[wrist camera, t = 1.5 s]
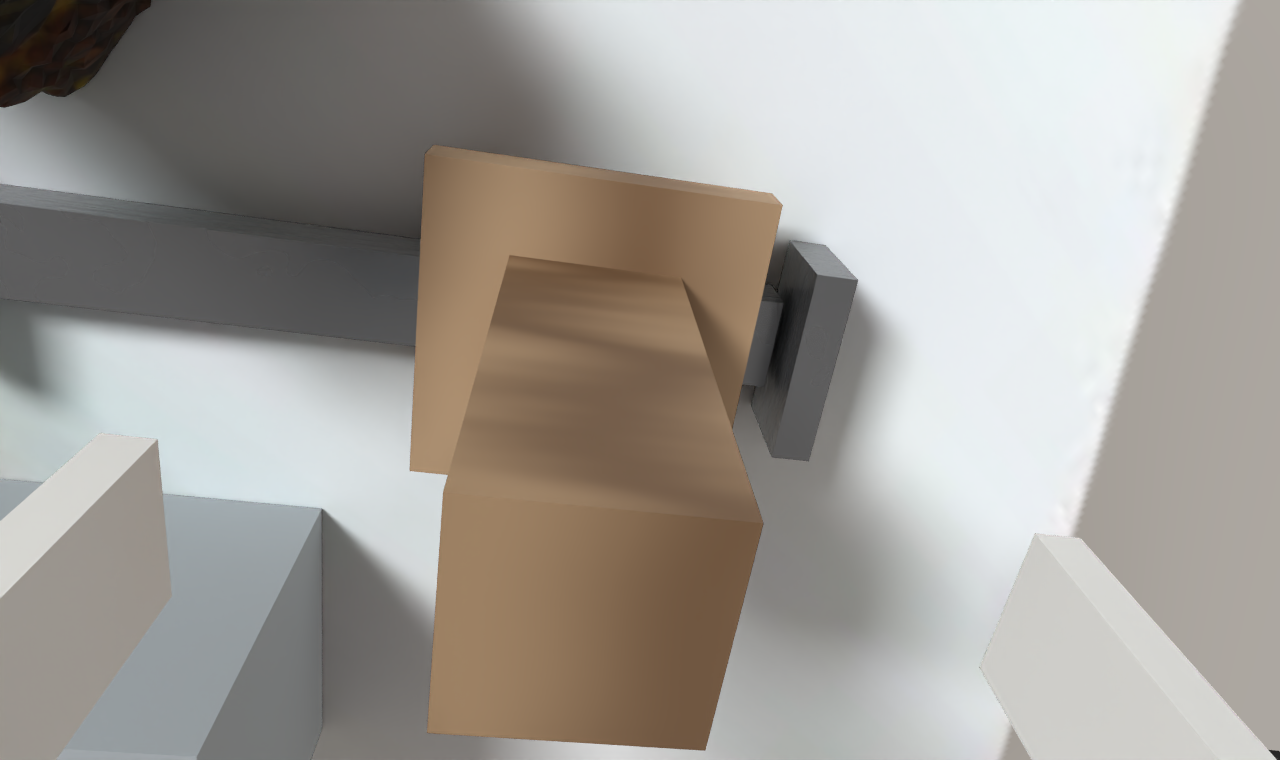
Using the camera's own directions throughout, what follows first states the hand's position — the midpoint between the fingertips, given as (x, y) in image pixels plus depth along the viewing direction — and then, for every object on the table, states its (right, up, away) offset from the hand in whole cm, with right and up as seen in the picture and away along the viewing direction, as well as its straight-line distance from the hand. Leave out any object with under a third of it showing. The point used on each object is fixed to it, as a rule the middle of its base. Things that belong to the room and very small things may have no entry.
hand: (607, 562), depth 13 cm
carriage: (-1, +5, +10) cm, 11 cm away
